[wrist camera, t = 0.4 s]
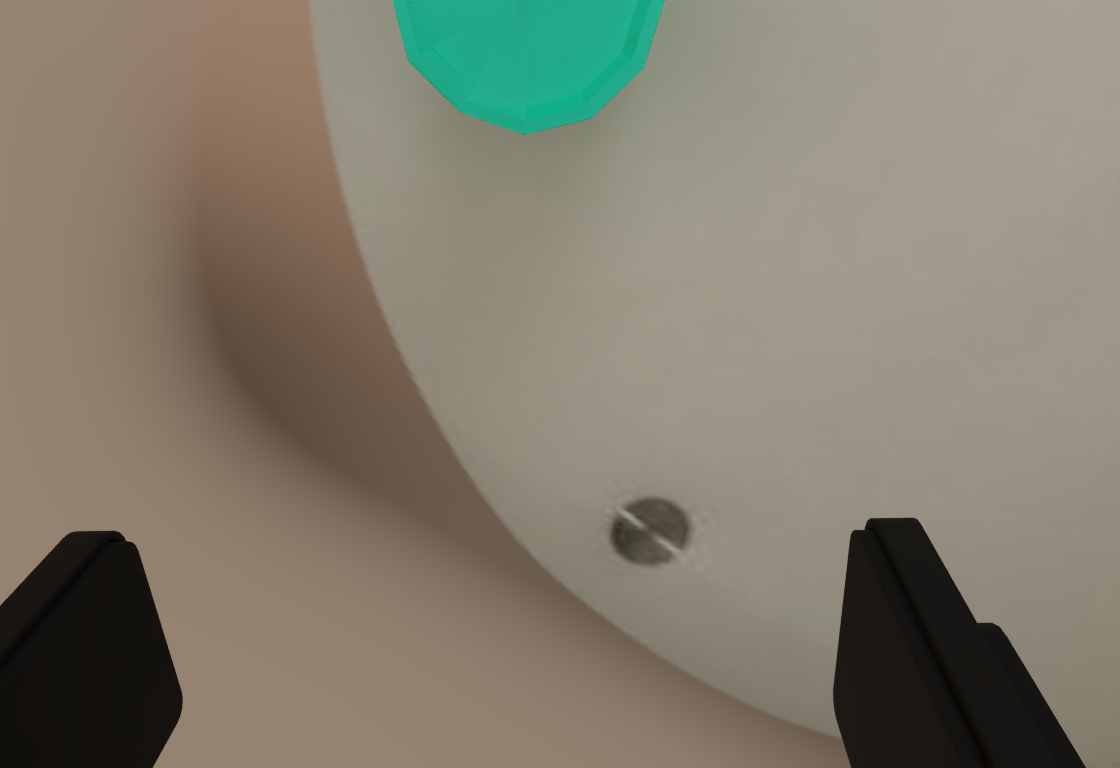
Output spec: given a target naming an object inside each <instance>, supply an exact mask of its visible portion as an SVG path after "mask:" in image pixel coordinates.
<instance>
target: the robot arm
mask: <svg viewBox="0 0 1120 768" xmlns="http://www.w3.org/2000/svg"><path fill="white" fill-rule="evenodd" d="M182 698H183V697H182V691H181V688H180V685H179V681H178V678H177V675H176V672H175V668H174V665H173V662H172V659H171V655H170V652H169V649H168V646H167V642H166V639H165V636H164V633H163V629H162V626H161V623H160V620H159V617H158V613H157V610H156V606H155V603H154V600H153V597H152V594H151V590H150V587H149V584H148V581H147V577H146V574H145V571H144V567H143V564H142V561H141V558H140V555H139V551H138V549H137V547H136V545H135V544H134V543H132V542H126V540H125V538H124V536H123V535H122V534H121V533H120V532H117V531H76V532H72V533H69V534H68V535H66V536H65V537H64V538H63V539H62V540H61V541H60V542H59V543H58V544H57V545H56V546H55V548H54V549H53V550H52V551H51V552H50V553H49V554H48V555H47V556H46V557H45V558H44V559H43V560H42V562H41V563H40V564H39V565H38V566H37V567H36V568H35V569H34V570H33V571H32V572H31V573H30V574H29V575H28V577H27V578H26V579H25V580H24V581H23V582H22V583H21V584H20V585H19V586H18V587H17V588H16V589H15V591H14V592H13V593H12V594H11V595H10V596H9V597H8V598H7V599H6V600H5V601H4V602H3V603H2V604H1V606H0V768H153V766H154V764H155V762H156V761H157V759H158V757H159V755H160V753H161V752H162V750H163V748H164V746H165V744H166V743H167V741H168V739H169V737H170V735H171V733H172V732H173V730H174V728H175V726H176V725H177V723H178V720H179V718H180V715H181V711H182V704H183V699H182ZM833 701H834V710H835V716H836V719H837V723H838V726H839V729H840V733H841V736H842V739H843V742H844V746H845V749H846V752H847V755H848V758H849V762H850V765H851V768H1086V767H1085V765H1084V764H1083V762H1082V761H1081V759H1080V757H1079V756H1078V754H1077V752H1076V751H1075V749H1074V747H1073V746H1072V744H1071V742H1070V741H1069V739H1068V737H1067V736H1066V734H1065V732H1064V731H1063V729H1062V727H1061V726H1060V724H1059V722H1058V721H1057V719H1056V717H1055V716H1054V714H1053V712H1052V711H1051V709H1050V707H1049V706H1048V704H1047V702H1046V701H1045V699H1044V697H1043V696H1042V694H1041V692H1040V691H1039V689H1038V687H1037V686H1036V684H1035V682H1034V681H1033V679H1032V677H1031V676H1030V674H1029V672H1028V671H1027V669H1026V667H1025V666H1024V664H1023V662H1022V661H1021V659H1020V657H1019V656H1018V654H1017V652H1016V651H1015V649H1014V647H1013V646H1012V644H1011V643H1010V641H1009V639H1008V638H1007V636H1006V635H1005V633H1004V632H1003V631H1002V630H1001V628H1000V627H999V626H997V625H995V624H993V623H977V622H976V620H975V618H974V617H973V615H972V613H971V611H970V610H969V608H968V606H967V604H966V602H965V601H964V599H963V597H962V595H961V594H960V592H959V590H958V588H957V587H956V585H955V583H954V581H953V580H952V578H951V576H950V574H949V573H948V571H947V569H946V567H945V566H944V564H943V562H942V560H941V559H940V557H939V555H938V553H937V552H936V550H935V548H934V546H933V544H932V543H931V541H930V539H929V537H928V536H927V534H926V532H925V530H924V529H923V527H922V525H921V523H920V522H919V521H918V520H917V519H916V518H870V519H869V520H868V521H867V523H866V526H865V530H854V531H853V532H852V534H851V537H850V544H849V553H848V562H847V571H846V580H845V589H844V598H843V607H842V616H841V625H840V634H839V643H838V652H837V660H836V669H835V678H834V687H833Z"/></svg>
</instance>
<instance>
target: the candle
mask: <svg viewBox="0 0 1120 768" xmlns="http://www.w3.org/2000/svg"><path fill="white" fill-rule="evenodd" d="M393 3H394V7H395V11H396V15H397V19H398V23H399V27H400V31H401V35H402V39H403V43H404V47H405V51H406V55H407V59H408V61H409V62H410V63H411V64H412V65H413V66H414V67H415V68H416V69H417V70H418V71H419V72H420V73H421V74H422V75H423V76H424V77H425V78H426V79H427V80H428V81H429V82H430V83H431V84H432V85H433V86H434V87H435V88H436V89H437V90H438V91H439V92H440V93H441V94H442V95H443V96H444V97H445V98H446V99H447V100H448V101H449V102H450V103H452V104H453V105H454V106H455V107H456V108H457V109H458V110H459V111H460V112H461V113H464V114H467V115H470V116H473V117H476V118H479V119H481V120H484V121H487V122H490V123H493V124H496V125H498V126H501V127H504V128H507V129H510V130H513V131H515V132H518V133H521V134H524V135H525V134H529V133H533V132H537V131H541V130H545V129H549V128H553V127H557V126H561V125H565V124H569V123H573V122H577V121H581V120H585V119H589V118H592V117H593V116H594V115H595V114H596V113H597V112H598V111H599V110H600V109H601V108H602V107H603V106H604V105H605V104H606V103H607V102H608V101H609V100H611V99H612V98H613V97H614V96H615V95H616V94H617V93H618V92H619V91H620V90H621V89H622V88H623V87H624V86H625V85H626V84H627V83H628V82H629V81H630V80H631V79H632V78H633V77H634V76H635V75H636V74H637V73H639V72H640V71H641V70H642V69H643V68H644V64H645V61H646V58H647V55H648V52H649V48H650V45H651V42H652V39H653V36H654V32H655V29H656V26H657V23H658V20H659V16H660V13H661V10H662V7H663V4H664V0H393Z"/></svg>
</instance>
